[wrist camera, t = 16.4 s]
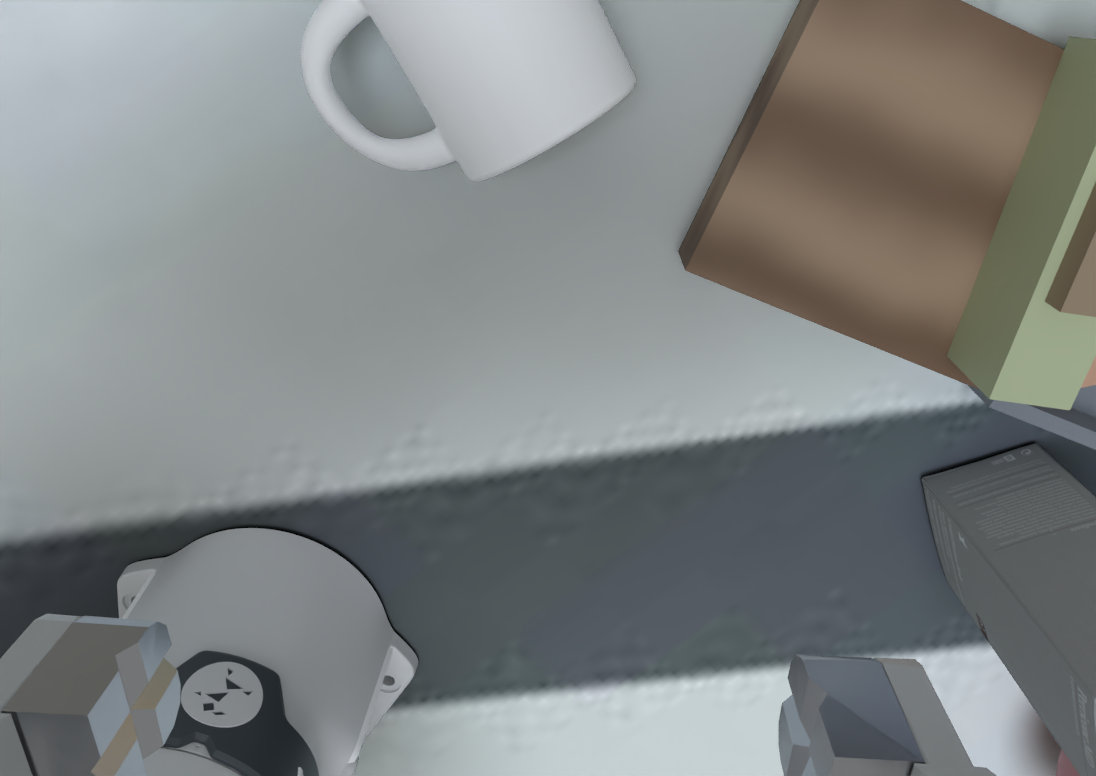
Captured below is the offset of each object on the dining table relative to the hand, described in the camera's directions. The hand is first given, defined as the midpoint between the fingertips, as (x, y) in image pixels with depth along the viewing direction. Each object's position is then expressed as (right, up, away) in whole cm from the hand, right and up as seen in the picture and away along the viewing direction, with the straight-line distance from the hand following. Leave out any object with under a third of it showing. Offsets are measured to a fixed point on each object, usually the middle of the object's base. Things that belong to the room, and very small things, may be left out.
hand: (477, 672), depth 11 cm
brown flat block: (+17, +13, +27) cm, 35 cm away
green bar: (+22, +11, +25) cm, 35 cm away
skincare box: (+26, -3, +35) cm, 44 cm away
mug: (-3, +19, +26) cm, 32 cm away
